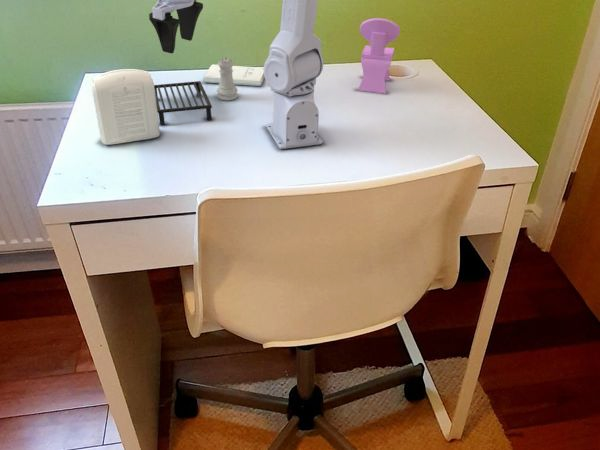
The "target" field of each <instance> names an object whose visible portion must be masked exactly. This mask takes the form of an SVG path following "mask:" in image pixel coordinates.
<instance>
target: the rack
mask: <svg viewBox="0 0 600 450" xmlns="http://www.w3.org/2000/svg"><path fill="white" fill-rule="evenodd" d="M186 86H187V87H188V90H189V92H190V94H191V95H190V96H191V97H192V99H193V102H194V105H192V103H191V100H190V98H189V95H188V93H187V91H186V88H185V87H186ZM191 86H193V87H194V89H195V91H196V96H195V94H194V92H193V89H192V87H191ZM179 87H181V88H182V91H183V92H184V96H185V98H186V102H187V104H188V106H186V104H185V102H184V99H183V96H182V94H181V91H180V88H179ZM154 88H155V96H156V104H157V113H158V121H159V126H165V125H166V122H165V121H166V120H165V113H176V112H187V111H196V110H197V111H198V110H205V113H206V120H207V121H211V120H212V108H213V105H212V104H211V100H210V98H209V96H208V95H207V92H206V90H205V88H204V86H203V84H202V82H201V80H197V81H185V82H175V83H173V82H172V83H162V84H154ZM162 88H163V90H164V93H165V96H166V99H167V103H168V105H169V108H167V107H166V104H165V101H164V98H163V94H162V90H161V89H162ZM167 88H169V89H170V92H171V95H172V98H173V102H174V104H175V107H173V105H172V101H171V99H170V96H169V93H168V89H167ZM173 88H175V89H176V91H177V94H178V96H179V99H180V102H181V105H182V107H181V106H179V104H178V100H177V98H176V94H175V91H174V89H173ZM202 96H203V97H202ZM159 97H160V98H159ZM196 97H197V98H198V99H199V101H200V103H201V105H199V104H198V102H197V99H196ZM203 98H204V100H203ZM159 99H160V102H161V104H162V108H163V109H162V108H161V106H160V103H159ZM204 101H205V102H204ZM205 103H206V104H205Z"/></svg>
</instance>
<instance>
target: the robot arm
mask: <svg viewBox="0 0 600 450" xmlns="http://www.w3.org/2000/svg"><path fill="white" fill-rule="evenodd" d="M318 2H319V0H282V7H281V16H280V17H281V18H280V27H279V28H280V29H279V32H278V34H277V35H276V36H275V37H274V39H273V40H272V42H271V44H270V45H269V52H268V56H267V58H266V60H265V61H264V64H263V68H264V80H265V82H266V84H267V85H268V87H269V88H270V91H271V92H272V123H268V124H266V126H265V127H266V129H267V131H268V132H269V134H270V135H271V137H272V139H273V140H274V142H275V144H276V145H277V147H278V149H279V150H286V149H293V148H302V147H311V146H316V145H318V146H319V145H322V144H323V139H322V138H321V137H320V136H319V119H320V117H319V116H320V112H319V108H318V106H317V105H316V103H315V99H314V98H315V86H316V84H317V78H319V77H320V76H321V74H322V72H323V70H324V59H323V54H322V44H323V41H322V39H320V38H319V37H318V36H317V35H316V34H315V26H316V17H317V9H318ZM151 9H152V12H150V13H149V14H148V18H149V19H148V20H149V21H150V23H151V24H152V26H153V28H154V30H155V31H156V34H157V37H158V39H159V44H160V47H161V50H162V52H164V53H167V54H174V53H175V49H176V40H177V39H176V38H177V33H178V29H179V34H180V38H181V40H185V41H189V42H191V41H192V40H193V38H194V33H195V30H196V25H197V22H198V19H199V17H200V14H201V12H202V10H203V9H204V4H203V2H199V1H197V0H157V2H156V3H155V5H153V6H152V8H151ZM175 11H176V14H177V18H175V17H173V15H172V13H174V12H175Z"/></svg>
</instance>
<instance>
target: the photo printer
mask: <svg viewBox="0 0 600 450" xmlns="http://www.w3.org/2000/svg"><path fill="white" fill-rule="evenodd" d="M154 85H155V83H154V80H153V78H152V75H151V73H150V71H148V70H144V69H143V70H142V69H138V68H121V69H120V68H119V69H114V70H113V69H112V70H109V71H105V72H103V73H100V74H98V75H96V76H94V77H92V84H91V93H92V98H93V103H94V109H95V114H96V120H97V125H98V130H99V137H100V141H101V143H102V144H103V145H116V144H117V145H118V144H124V143H130V142H136V141H144V140H151V139H155V138H158V137H159V136H160V135H161V130H160V120H159V113H158V112H157V104H156V96H155V88H154Z"/></svg>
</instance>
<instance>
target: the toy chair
mask: <svg viewBox="0 0 600 450" xmlns="http://www.w3.org/2000/svg"><path fill="white" fill-rule="evenodd" d="M359 33H360V35H361V36H362V37H363V38H364V39H365V40H366V41H367V42H369V44H370V45H367V44H365V45H364V48H363V50H362V52H361V54H360V55H361V57H360V64H361V68H362V80H361V82H360V85H359V86H358V88H357V91H359V92H368V93H377V94H385V95H386V94H387V88H386V82H387V81H388V82H390V81H391V77H390V72H389V68H390V67H391V65H392V60H393V57H394V54H395V47H386V46H387V45H389V44H390V43H392V42H394V41H395V40H396V39H398V37H399V36H400V33H401V28H400V26H399V25H398V24H397V23H396V22H394V21H392V20H390V19H388V18H379V17H375V18H369V19H367V20H364V21H362V22H361V24H360V25H359ZM385 81H386V82H385Z"/></svg>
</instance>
